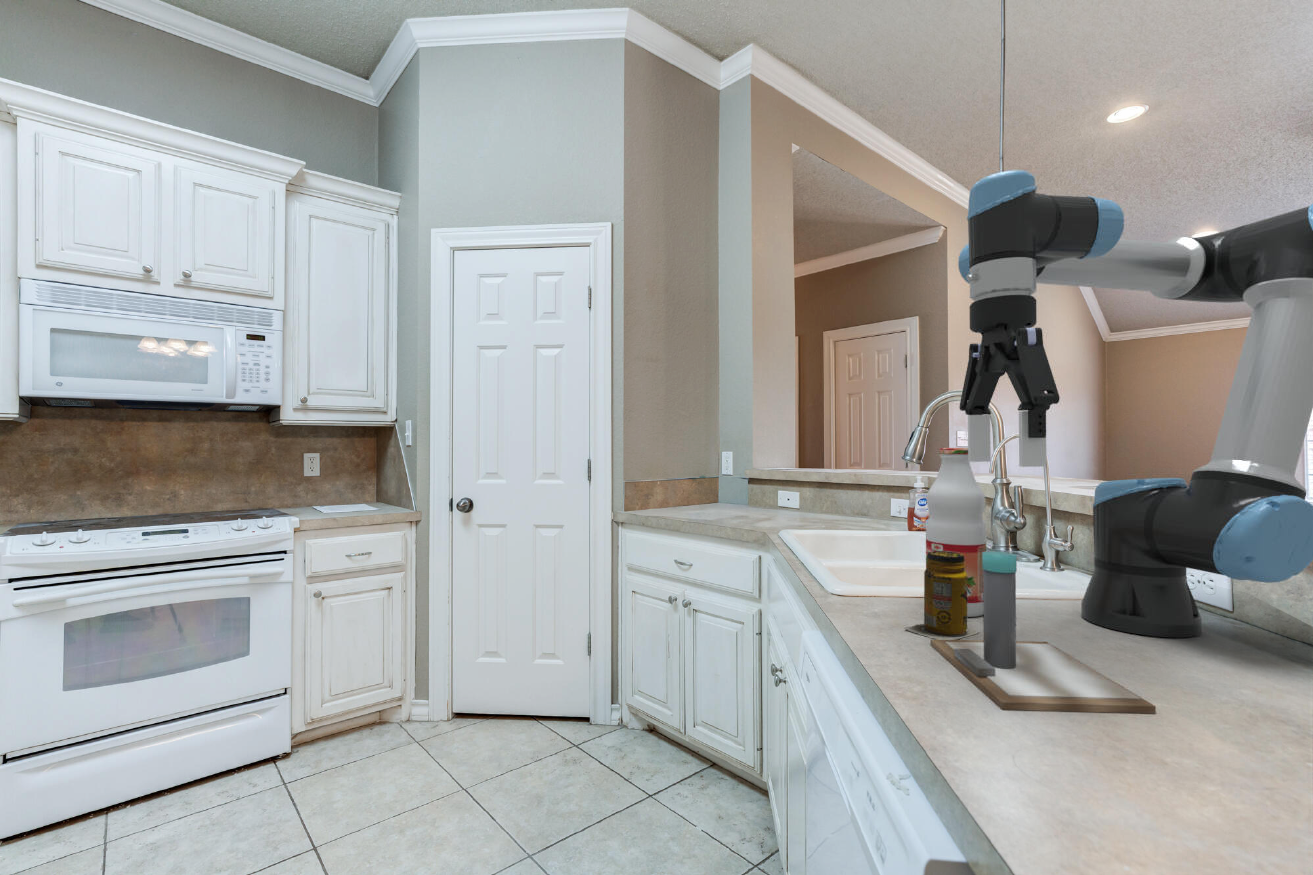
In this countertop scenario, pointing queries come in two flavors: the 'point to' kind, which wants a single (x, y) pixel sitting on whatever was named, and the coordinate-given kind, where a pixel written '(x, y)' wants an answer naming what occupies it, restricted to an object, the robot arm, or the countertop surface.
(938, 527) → the fruit juice
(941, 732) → the countertop surface
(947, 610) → the condiment
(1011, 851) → the countertop surface
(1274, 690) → the countertop surface
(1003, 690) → the clipboard
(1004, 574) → the marker
